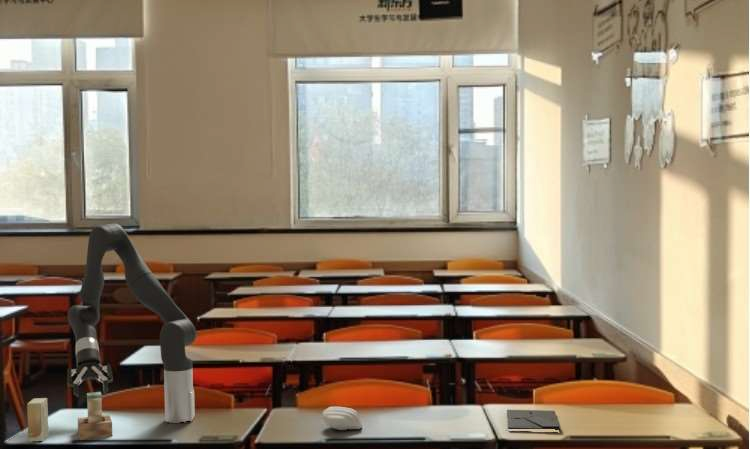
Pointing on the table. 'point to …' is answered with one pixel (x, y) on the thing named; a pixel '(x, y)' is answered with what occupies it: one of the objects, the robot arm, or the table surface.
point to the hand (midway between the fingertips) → (91, 394)
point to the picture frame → (532, 419)
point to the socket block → (94, 428)
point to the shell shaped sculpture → (341, 418)
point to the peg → (94, 407)
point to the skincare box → (37, 419)
